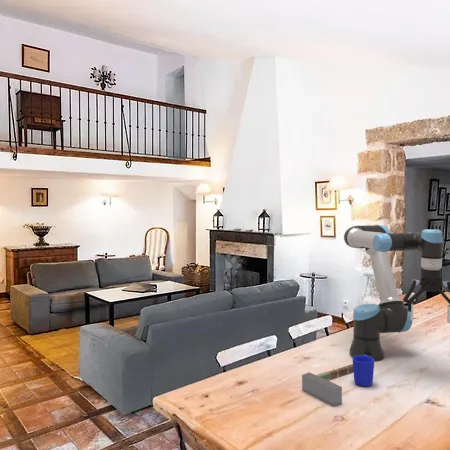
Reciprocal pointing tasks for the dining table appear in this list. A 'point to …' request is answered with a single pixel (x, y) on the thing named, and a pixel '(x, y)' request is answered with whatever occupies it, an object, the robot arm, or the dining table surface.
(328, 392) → the grooved grey block
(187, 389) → the dining table surface
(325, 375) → the brown and green stick
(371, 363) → the mug
